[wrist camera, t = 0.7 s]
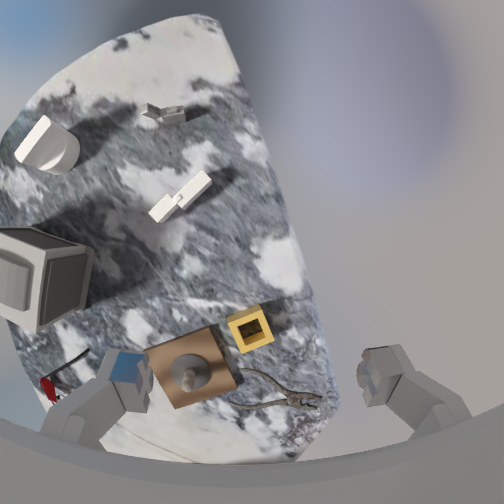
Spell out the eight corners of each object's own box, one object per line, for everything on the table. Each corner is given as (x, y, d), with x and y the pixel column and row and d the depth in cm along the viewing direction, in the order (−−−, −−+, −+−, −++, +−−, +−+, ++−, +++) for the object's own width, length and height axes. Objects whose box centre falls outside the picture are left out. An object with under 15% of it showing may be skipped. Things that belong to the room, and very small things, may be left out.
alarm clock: (18, 284, 50) (-35, 299, 32) (27, 224, 50) (-29, 223, 32) (84, 312, 53) (38, 341, 35) (96, 248, 52) (48, 255, 34)
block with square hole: (270, 333, 57) (274, 340, 53) (240, 346, 56) (241, 353, 52) (258, 304, 56) (261, 309, 52) (227, 317, 56) (227, 323, 52)
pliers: (232, 368, 56) (328, 372, 58) (232, 366, 57) (326, 370, 59) (227, 408, 57) (318, 409, 59) (227, 406, 57) (317, 408, 60)
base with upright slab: (59, 183, 50) (28, 174, 39) (38, 158, 49) (7, 145, 37) (87, 149, 51) (60, 132, 39) (65, 125, 50) (37, 105, 38)
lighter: (185, 113, 53) (181, 96, 45) (186, 121, 53) (182, 105, 45) (149, 120, 52) (140, 104, 44) (150, 127, 52) (140, 112, 44)
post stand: (237, 384, 57) (240, 406, 48) (175, 405, 56) (170, 428, 47) (208, 325, 56) (207, 341, 47) (144, 349, 54) (133, 367, 46)
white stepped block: (217, 164, 54) (217, 157, 49) (222, 225, 55) (223, 224, 50) (138, 173, 53) (130, 167, 47) (143, 233, 54) (134, 234, 48)
